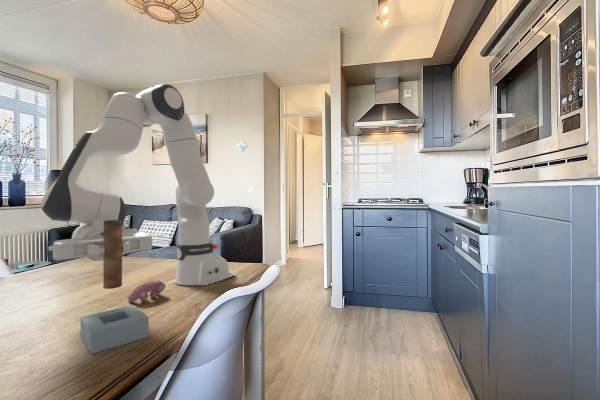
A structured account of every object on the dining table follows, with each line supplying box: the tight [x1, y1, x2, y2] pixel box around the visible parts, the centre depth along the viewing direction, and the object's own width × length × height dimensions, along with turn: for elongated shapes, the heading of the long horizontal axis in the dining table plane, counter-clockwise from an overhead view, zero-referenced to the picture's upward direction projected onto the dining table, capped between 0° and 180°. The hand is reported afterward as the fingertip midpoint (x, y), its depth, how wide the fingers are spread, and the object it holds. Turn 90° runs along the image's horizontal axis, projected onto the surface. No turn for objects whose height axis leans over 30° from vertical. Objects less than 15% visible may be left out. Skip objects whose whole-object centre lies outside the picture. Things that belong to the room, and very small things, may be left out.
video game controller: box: [127, 279, 166, 303], centre depth 94 cm, size 10×5×7 cm, turn 149°
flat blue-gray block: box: [80, 304, 150, 355], centre depth 69 cm, size 11×11×4 cm
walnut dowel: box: [102, 220, 123, 290], centre depth 69 cm, size 4×4×15 cm
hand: (114, 249), depth 68 cm, fingers closed on walnut dowel, 4 cm apart
